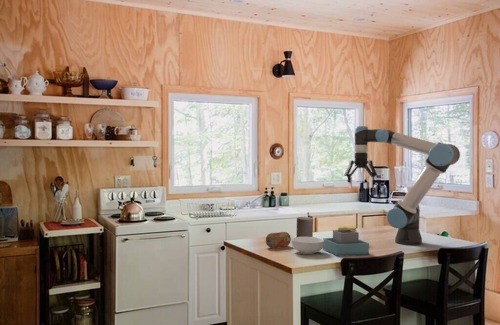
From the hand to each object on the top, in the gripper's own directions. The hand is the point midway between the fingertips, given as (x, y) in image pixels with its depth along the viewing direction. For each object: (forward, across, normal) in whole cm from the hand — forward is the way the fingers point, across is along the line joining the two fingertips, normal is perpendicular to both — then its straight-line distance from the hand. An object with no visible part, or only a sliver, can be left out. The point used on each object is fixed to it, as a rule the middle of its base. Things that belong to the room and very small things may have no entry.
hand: (360, 187), depth 288 cm
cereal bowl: (+32, +43, +24) cm, 59 cm away
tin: (+32, +54, +6) cm, 63 cm away
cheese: (+32, +12, +6) cm, 35 cm away
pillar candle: (+32, +33, -7) cm, 46 cm away
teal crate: (+32, +23, +27) cm, 48 cm away
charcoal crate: (+31, +23, +27) cm, 47 cm away
